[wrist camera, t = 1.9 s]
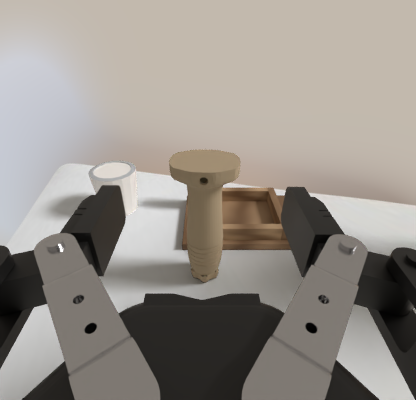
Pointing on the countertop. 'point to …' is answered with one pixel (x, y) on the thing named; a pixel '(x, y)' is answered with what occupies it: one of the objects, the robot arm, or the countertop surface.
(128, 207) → the white faceted cup
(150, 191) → the countertop surface
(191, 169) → the handle
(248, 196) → the seat board
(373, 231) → the countertop surface
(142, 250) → the countertop surface
